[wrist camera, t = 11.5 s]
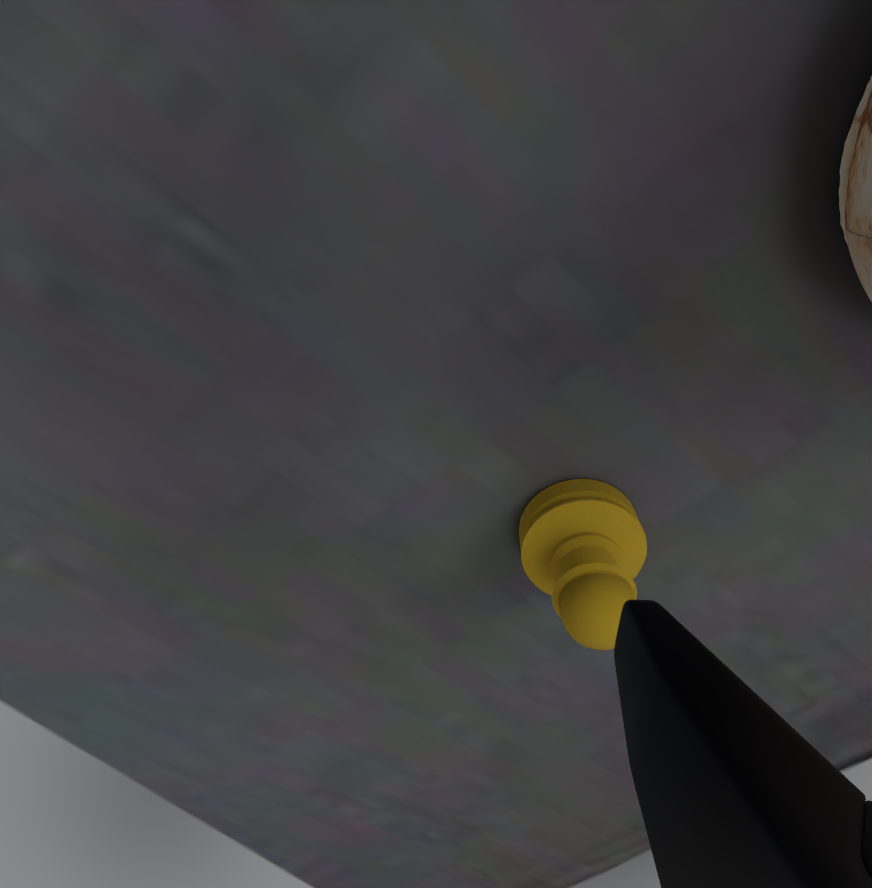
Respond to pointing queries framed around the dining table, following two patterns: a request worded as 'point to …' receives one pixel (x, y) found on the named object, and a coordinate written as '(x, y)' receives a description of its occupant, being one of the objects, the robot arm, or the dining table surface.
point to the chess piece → (584, 555)
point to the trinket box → (858, 191)
